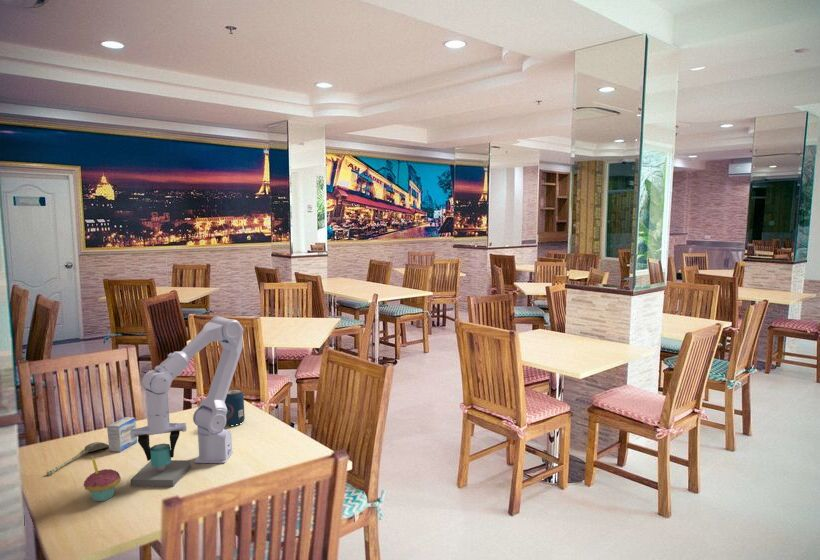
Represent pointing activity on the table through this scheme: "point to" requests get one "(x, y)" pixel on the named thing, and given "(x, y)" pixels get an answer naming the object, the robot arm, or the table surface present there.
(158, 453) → the cap
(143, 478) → the stud stand
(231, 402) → the soda can
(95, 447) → the soupspoon
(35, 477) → the table surface
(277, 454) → the table surface
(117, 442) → the medicine box
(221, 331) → the robot arm
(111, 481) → the cupcake
